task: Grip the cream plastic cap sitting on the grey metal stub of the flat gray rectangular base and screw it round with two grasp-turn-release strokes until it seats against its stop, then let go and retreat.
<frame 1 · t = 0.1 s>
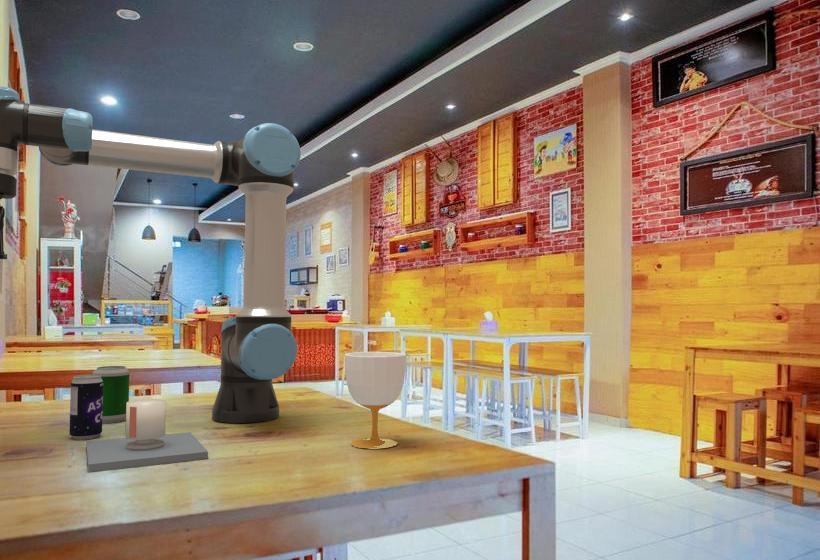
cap: (146, 418, 107), point 6 cm above the table, hinge at 0.0°
flat gray rectangular base: (145, 453, 107), on the table
cup: (374, 445, 115), on the table
soda can: (109, 421, 136), on the table
beverage can: (85, 438, 119), on the table
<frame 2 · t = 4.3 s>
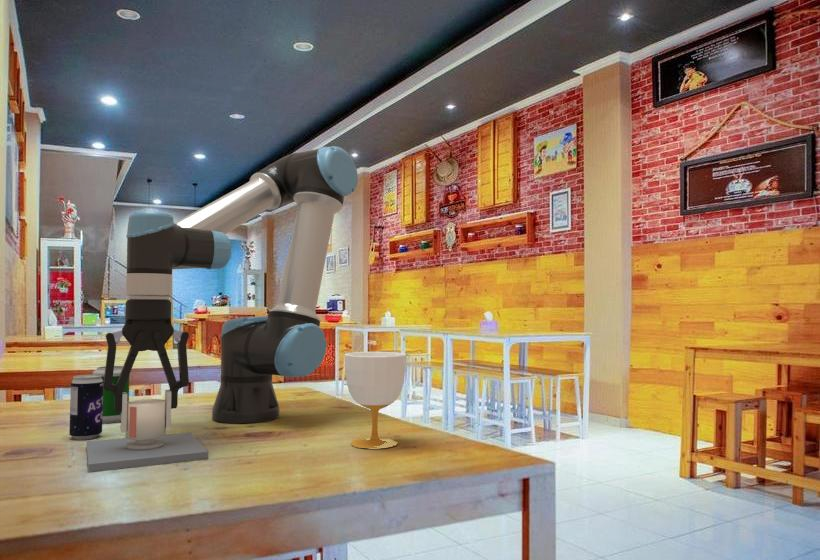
hand: (145, 428, 107), 4 cm above the table, fingers closed on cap, 6 cm apart
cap: (146, 418, 107), point 6 cm above the table, hinge at 0.0°, touching gripper
everything else where it was.
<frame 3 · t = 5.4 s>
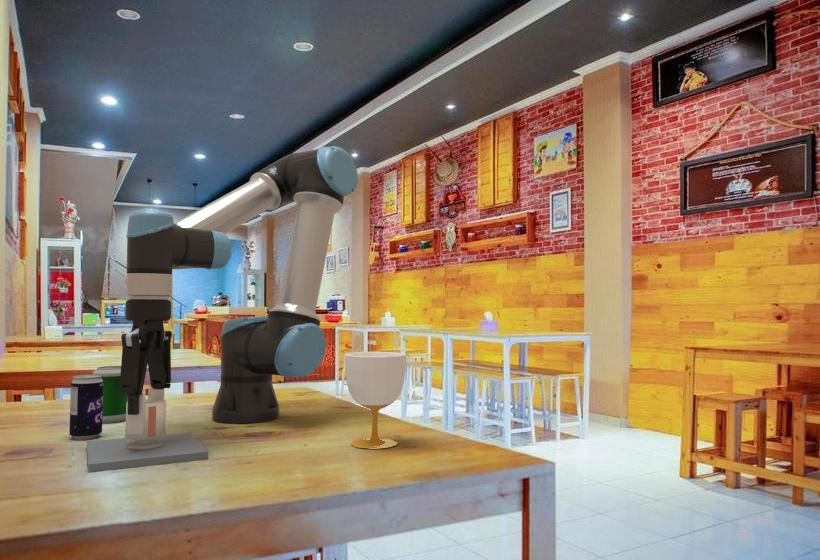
hand: (145, 428, 107), 4 cm above the table, fingers closed on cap, 6 cm apart
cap: (146, 418, 107), point 6 cm above the table, hinge at 57.0°, touching gripper
everything else where it was.
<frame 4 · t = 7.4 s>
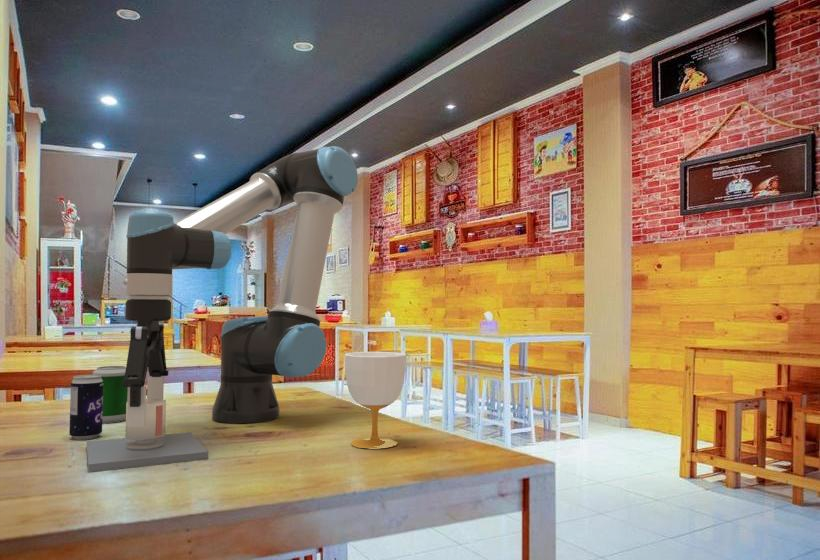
hand: (146, 418, 107), 6 cm above the table, fingers open, 13 cm apart
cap: (146, 418, 107), point 6 cm above the table, hinge at 80.0°
everything else where it was.
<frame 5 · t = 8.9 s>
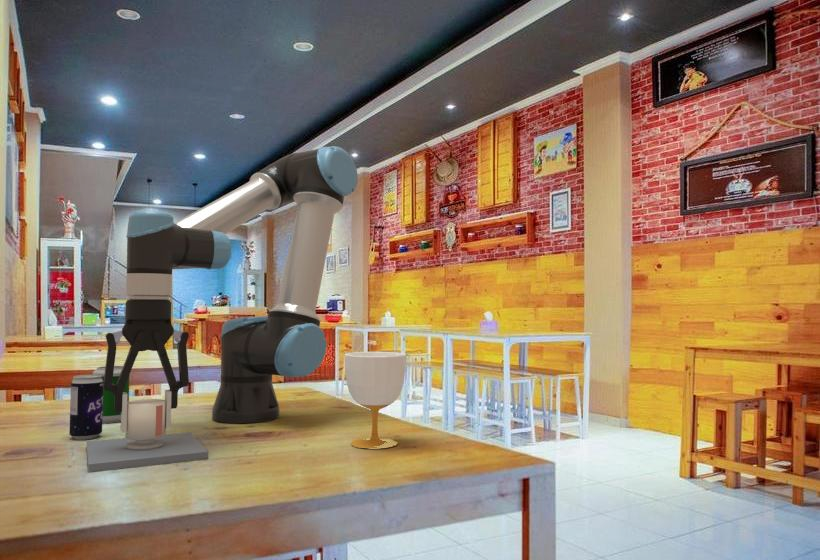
hand: (145, 428, 107), 4 cm above the table, fingers closed on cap, 6 cm apart
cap: (146, 418, 107), point 6 cm above the table, hinge at 80.0°, touching gripper
everything else where it was.
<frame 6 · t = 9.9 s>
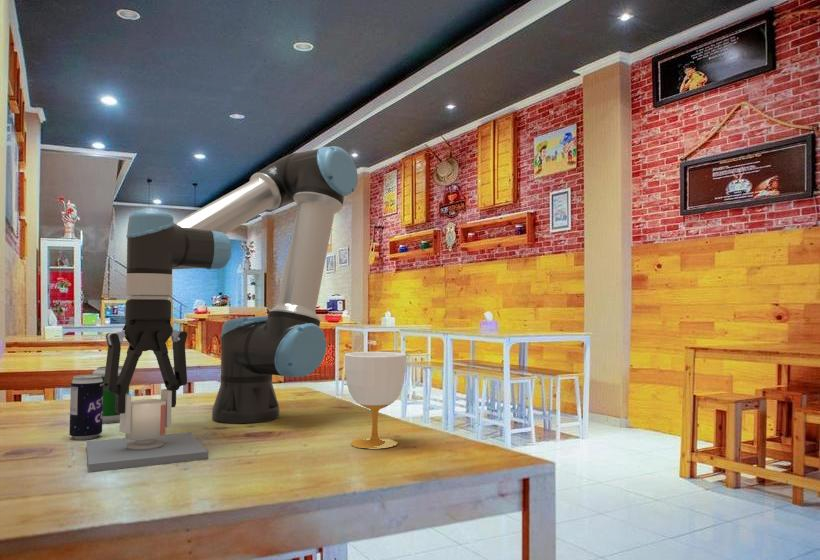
hand: (145, 428, 107), 4 cm above the table, fingers closed on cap, 6 cm apart
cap: (146, 418, 107), point 6 cm above the table, hinge at 97.1°, touching gripper
everything else where it was.
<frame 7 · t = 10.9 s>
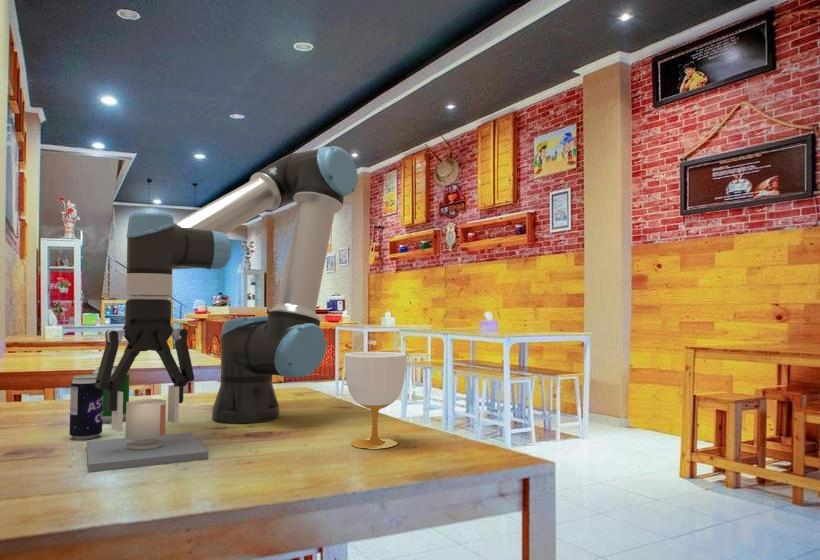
hand: (145, 425, 107), 5 cm above the table, fingers open, 9 cm apart
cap: (146, 418, 107), point 6 cm above the table, hinge at 96.1°
everything else where it was.
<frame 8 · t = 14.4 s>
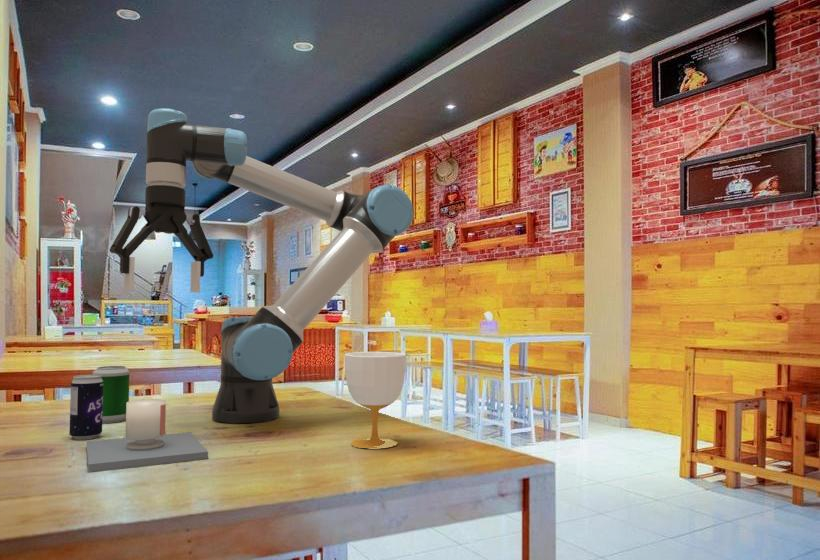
hand: (163, 292, 122), 29 cm above the table, fingers open, 13 cm apart
nothing on the table moved.
at the end: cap at +96° (first picture: +0°); the gripper is holding nothing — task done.
